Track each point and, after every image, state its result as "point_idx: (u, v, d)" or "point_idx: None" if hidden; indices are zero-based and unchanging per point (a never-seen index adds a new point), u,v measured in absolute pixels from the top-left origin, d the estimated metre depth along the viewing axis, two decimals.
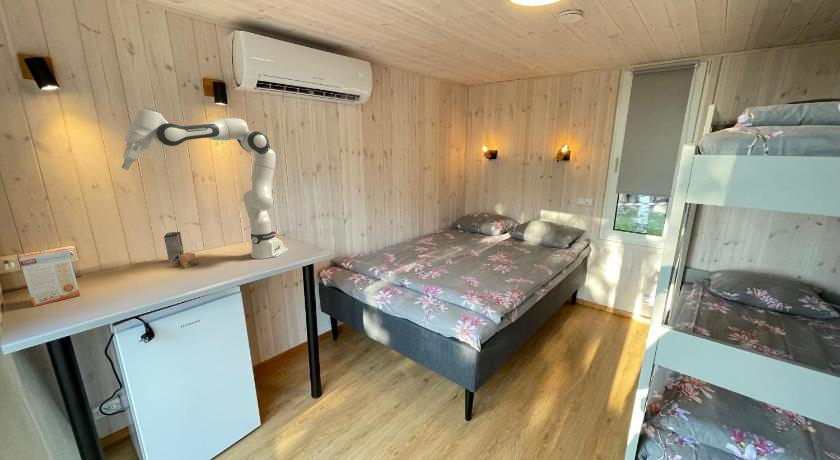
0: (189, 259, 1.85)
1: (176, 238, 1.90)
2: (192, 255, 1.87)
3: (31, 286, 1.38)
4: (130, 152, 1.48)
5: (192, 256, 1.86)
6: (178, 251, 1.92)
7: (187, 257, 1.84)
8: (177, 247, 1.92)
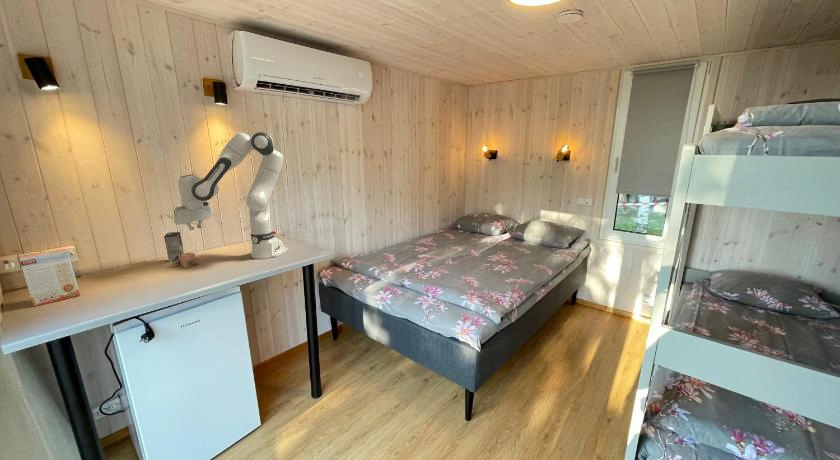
0: (189, 259, 1.85)
1: (176, 238, 1.90)
2: (192, 255, 1.87)
3: (31, 286, 1.38)
4: (174, 219, 1.80)
5: (192, 256, 1.86)
6: (178, 251, 1.92)
7: (187, 257, 1.84)
8: (177, 247, 1.92)
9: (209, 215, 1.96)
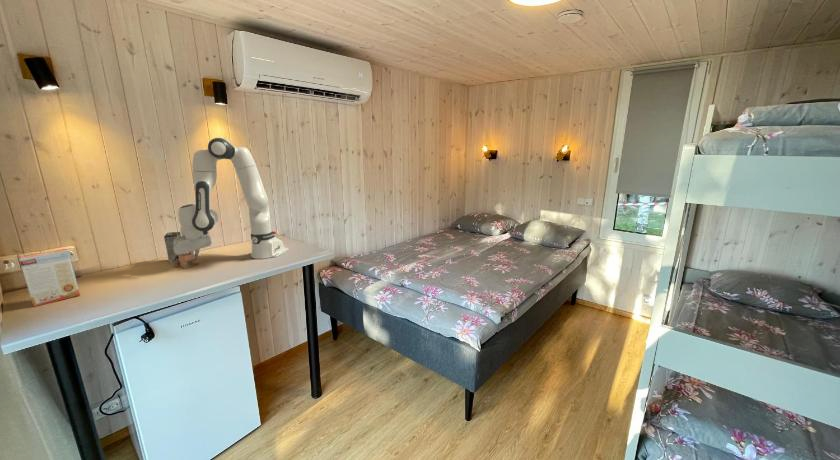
0: (188, 259, 1.85)
1: None
2: (191, 255, 1.86)
3: (31, 286, 1.38)
4: (174, 249, 1.81)
5: (191, 257, 1.86)
6: None
7: (186, 257, 1.83)
8: None
9: (209, 243, 1.97)
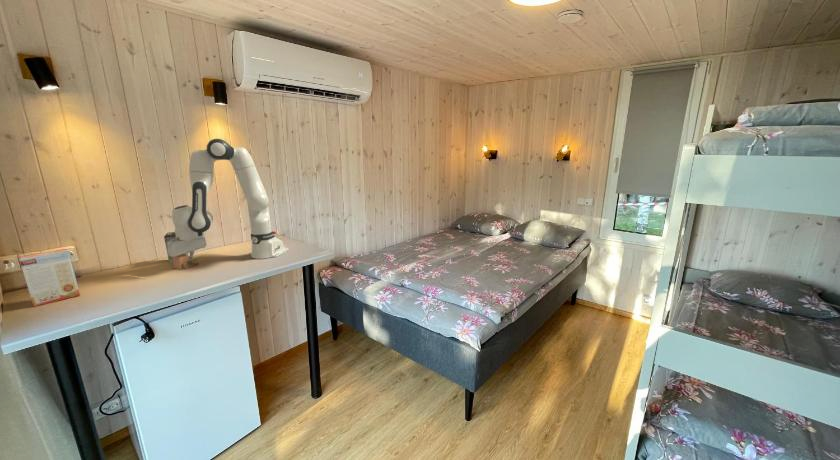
0: (183, 261, 1.82)
1: None
2: (186, 257, 1.83)
3: (31, 286, 1.38)
4: (168, 251, 1.78)
5: (185, 258, 1.83)
6: None
7: (180, 259, 1.80)
8: None
9: (204, 245, 1.94)
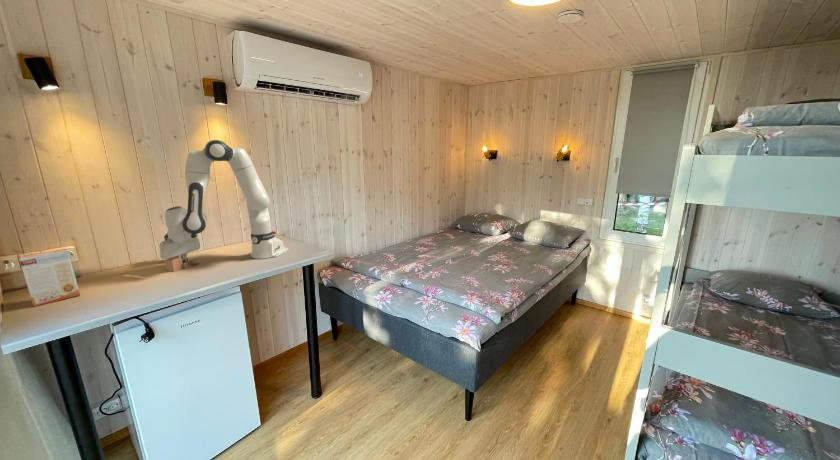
0: (175, 264, 1.78)
1: None
2: (179, 259, 1.79)
3: (31, 286, 1.38)
4: (160, 253, 1.74)
5: (178, 261, 1.79)
6: None
7: (173, 261, 1.77)
8: None
9: (197, 246, 1.90)
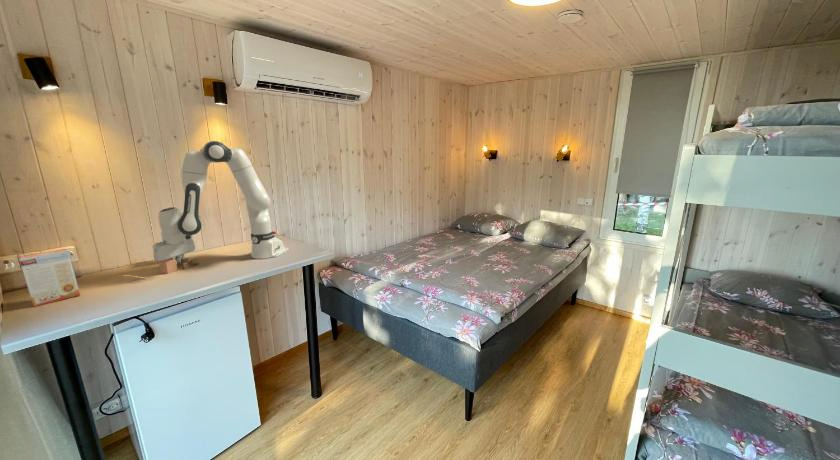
0: (169, 266, 1.75)
1: None
2: (173, 261, 1.76)
3: (31, 286, 1.38)
4: (154, 255, 1.71)
5: (172, 263, 1.76)
6: None
7: (167, 263, 1.74)
8: None
9: (192, 248, 1.87)
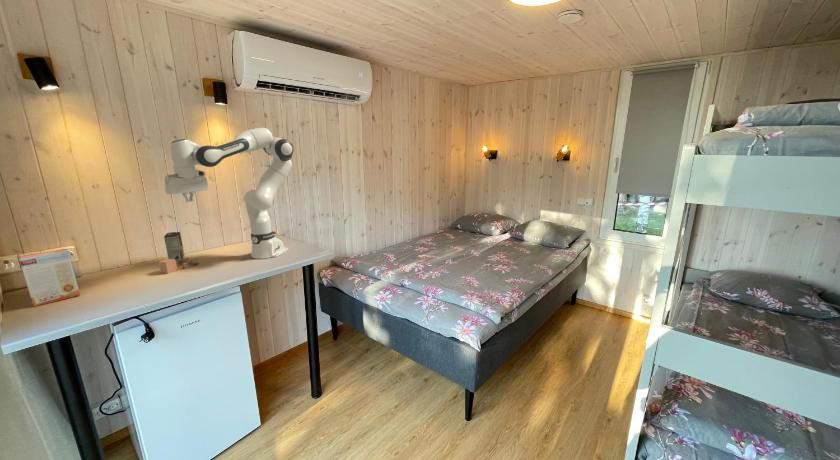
0: (169, 266, 1.75)
1: (176, 238, 1.90)
2: (173, 261, 1.76)
3: (31, 286, 1.38)
4: (165, 188, 1.59)
5: (172, 263, 1.76)
6: (178, 251, 1.92)
7: (167, 263, 1.74)
8: (177, 247, 1.92)
9: (205, 187, 1.76)
